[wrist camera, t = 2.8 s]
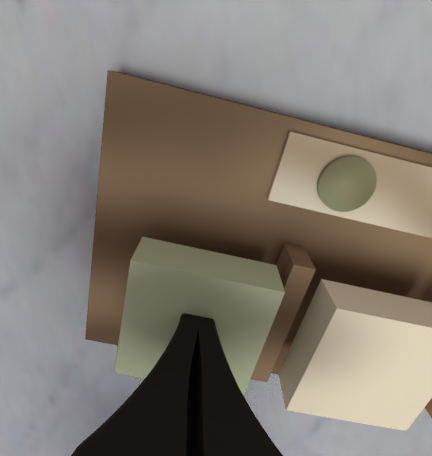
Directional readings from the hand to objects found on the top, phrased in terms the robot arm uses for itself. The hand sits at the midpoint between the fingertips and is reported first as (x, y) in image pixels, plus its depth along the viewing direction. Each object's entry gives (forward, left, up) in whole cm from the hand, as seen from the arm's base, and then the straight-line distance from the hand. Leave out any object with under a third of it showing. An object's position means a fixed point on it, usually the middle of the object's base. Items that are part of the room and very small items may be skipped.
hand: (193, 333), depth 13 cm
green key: (0, 0, -2) cm, 2 cm away
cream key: (0, -8, -2) cm, 8 cm away
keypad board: (+2, -8, -5) cm, 10 cm away
